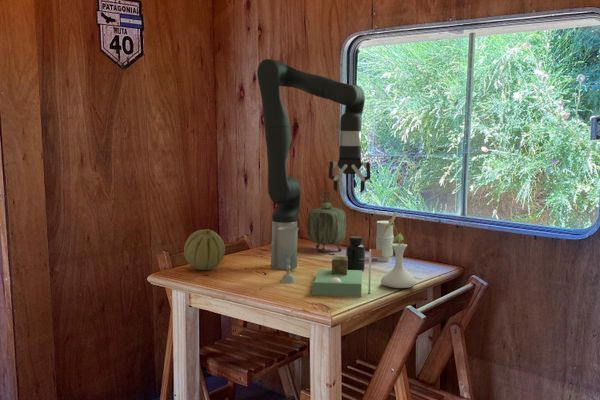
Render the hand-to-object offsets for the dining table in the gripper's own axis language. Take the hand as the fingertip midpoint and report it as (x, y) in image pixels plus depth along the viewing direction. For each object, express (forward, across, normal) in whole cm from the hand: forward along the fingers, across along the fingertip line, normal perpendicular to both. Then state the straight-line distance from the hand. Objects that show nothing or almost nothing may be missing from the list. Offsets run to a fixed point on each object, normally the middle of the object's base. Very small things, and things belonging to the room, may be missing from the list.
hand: (349, 191), depth 209 cm
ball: (+27, -3, -21) cm, 35 cm away
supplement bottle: (+30, +3, +9) cm, 31 cm away
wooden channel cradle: (+27, -2, -6) cm, 28 cm away
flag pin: (+29, +10, -22) cm, 38 cm away
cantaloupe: (+30, -51, 0) cm, 59 cm away
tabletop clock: (+30, -11, +40) cm, 51 cm away
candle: (+30, +13, +27) cm, 42 cm away
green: (+29, -2, -14) cm, 33 cm away
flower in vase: (+30, +17, -13) cm, 36 cm away
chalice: (+30, -19, -11) cm, 37 cm away
